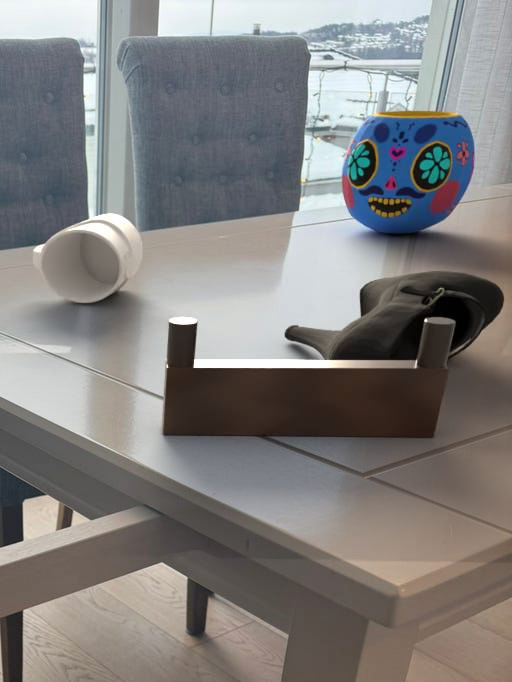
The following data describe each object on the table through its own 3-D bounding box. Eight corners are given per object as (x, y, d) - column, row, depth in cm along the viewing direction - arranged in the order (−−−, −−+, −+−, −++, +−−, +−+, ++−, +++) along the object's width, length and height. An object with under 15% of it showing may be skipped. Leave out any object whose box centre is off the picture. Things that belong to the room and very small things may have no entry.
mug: (148, 290, 107) (151, 215, 103) (121, 309, 100) (123, 229, 96) (52, 282, 112) (51, 210, 107) (20, 300, 104) (18, 223, 100)
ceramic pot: (317, 237, 133) (334, 117, 124) (349, 218, 145) (367, 108, 137) (447, 247, 125) (473, 119, 117) (469, 226, 138) (494, 109, 130)
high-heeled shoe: (464, 322, 89) (597, 353, 71) (272, 380, 90) (357, 426, 72) (458, 235, 86) (596, 245, 68) (259, 297, 86) (344, 322, 68)
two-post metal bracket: (426, 427, 69) (450, 316, 65) (434, 437, 67) (459, 324, 63) (161, 425, 70) (168, 317, 66) (162, 434, 69) (169, 324, 64)
